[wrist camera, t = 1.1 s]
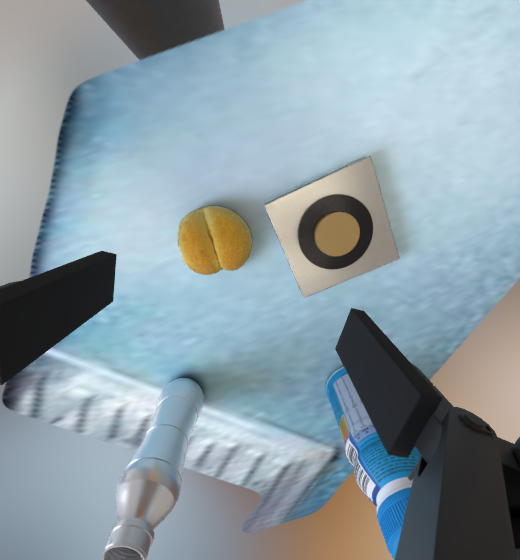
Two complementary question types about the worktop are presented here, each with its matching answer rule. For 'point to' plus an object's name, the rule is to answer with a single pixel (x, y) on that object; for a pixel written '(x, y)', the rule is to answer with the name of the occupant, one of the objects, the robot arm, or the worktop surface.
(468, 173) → the worktop surface
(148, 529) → the plastic bottle
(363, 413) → the beverage bottle
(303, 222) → the push button
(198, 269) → the bread roll
